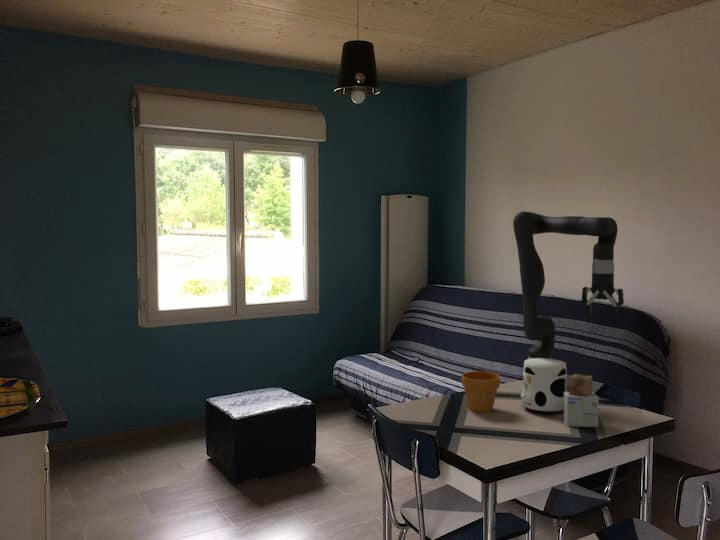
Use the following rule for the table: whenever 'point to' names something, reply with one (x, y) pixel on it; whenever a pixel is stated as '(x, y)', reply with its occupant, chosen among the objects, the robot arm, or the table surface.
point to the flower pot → (480, 390)
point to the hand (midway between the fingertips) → (602, 315)
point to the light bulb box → (581, 410)
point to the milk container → (544, 385)
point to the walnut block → (580, 385)
